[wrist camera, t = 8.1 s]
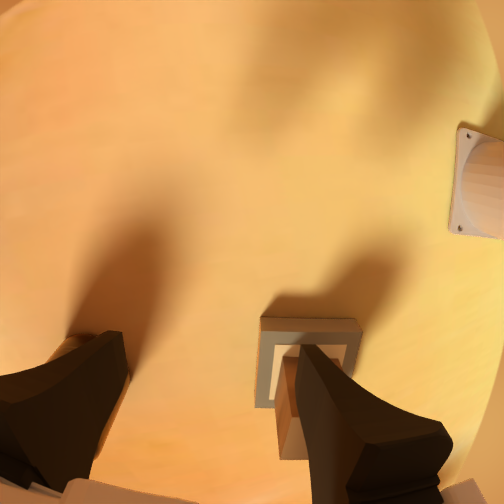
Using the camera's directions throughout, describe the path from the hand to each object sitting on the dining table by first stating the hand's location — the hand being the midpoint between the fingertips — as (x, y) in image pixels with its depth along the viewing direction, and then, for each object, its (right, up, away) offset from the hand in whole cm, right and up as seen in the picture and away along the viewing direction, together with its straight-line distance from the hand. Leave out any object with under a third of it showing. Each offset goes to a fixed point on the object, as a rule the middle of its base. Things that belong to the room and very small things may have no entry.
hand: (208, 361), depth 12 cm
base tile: (+6, -4, +11) cm, 13 cm away
